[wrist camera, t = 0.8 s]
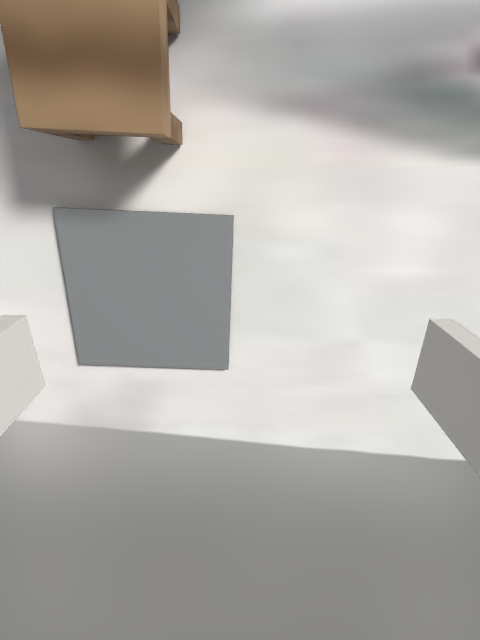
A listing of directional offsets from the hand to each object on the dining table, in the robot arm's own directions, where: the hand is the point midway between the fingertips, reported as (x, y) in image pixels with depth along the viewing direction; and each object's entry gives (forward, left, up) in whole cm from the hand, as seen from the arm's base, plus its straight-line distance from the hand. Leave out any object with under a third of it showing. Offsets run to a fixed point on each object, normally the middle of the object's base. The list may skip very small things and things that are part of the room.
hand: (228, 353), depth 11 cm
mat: (+6, -8, -22) cm, 24 cm away
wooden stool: (-12, -9, -22) cm, 27 cm away
